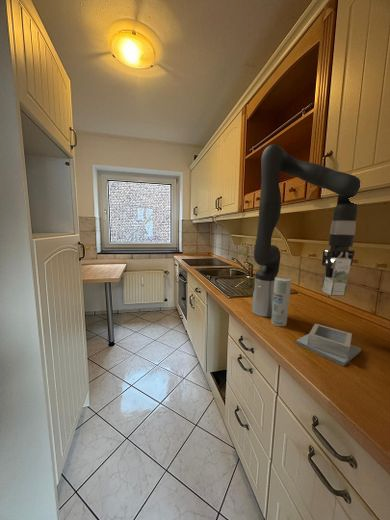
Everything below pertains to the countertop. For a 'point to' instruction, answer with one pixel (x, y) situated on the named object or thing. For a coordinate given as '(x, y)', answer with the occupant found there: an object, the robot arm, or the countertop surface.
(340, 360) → the board
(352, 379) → the countertop surface
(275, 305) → the spray can
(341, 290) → the syrup box
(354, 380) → the countertop surface
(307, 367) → the countertop surface
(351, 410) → the countertop surface
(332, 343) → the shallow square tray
